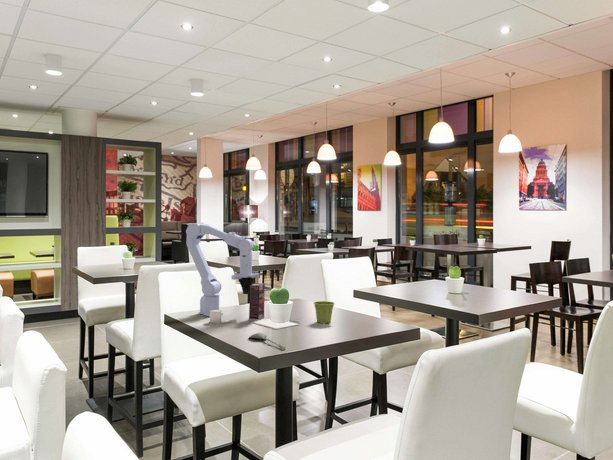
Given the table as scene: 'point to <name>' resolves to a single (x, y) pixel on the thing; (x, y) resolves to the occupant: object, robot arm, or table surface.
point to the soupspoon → (263, 336)
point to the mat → (274, 324)
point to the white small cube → (215, 316)
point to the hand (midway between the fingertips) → (245, 293)
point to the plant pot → (324, 311)
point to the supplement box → (256, 301)
